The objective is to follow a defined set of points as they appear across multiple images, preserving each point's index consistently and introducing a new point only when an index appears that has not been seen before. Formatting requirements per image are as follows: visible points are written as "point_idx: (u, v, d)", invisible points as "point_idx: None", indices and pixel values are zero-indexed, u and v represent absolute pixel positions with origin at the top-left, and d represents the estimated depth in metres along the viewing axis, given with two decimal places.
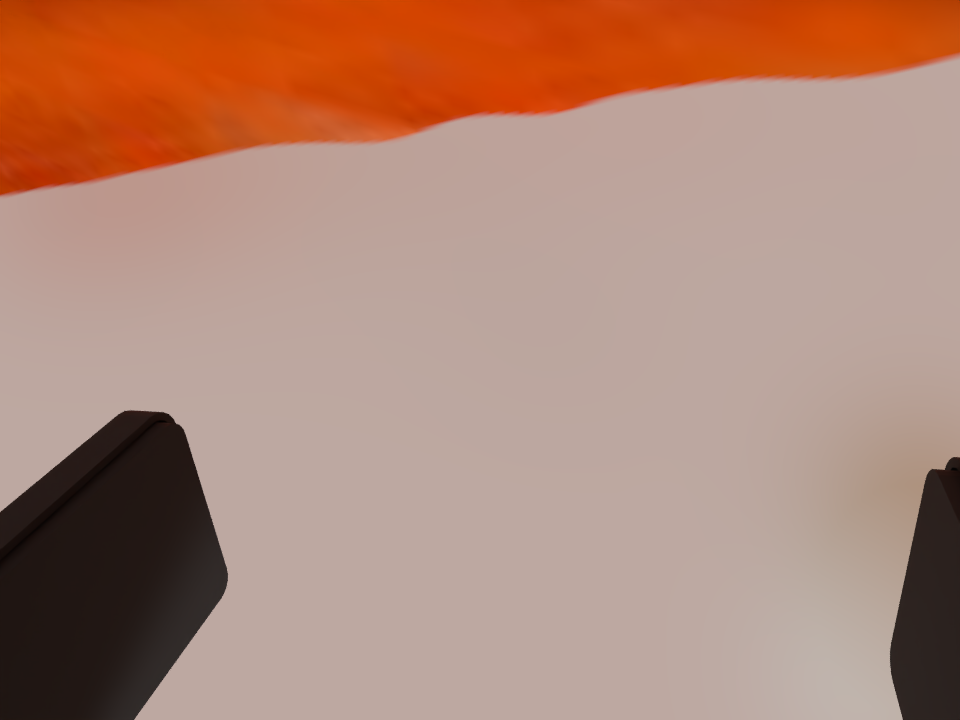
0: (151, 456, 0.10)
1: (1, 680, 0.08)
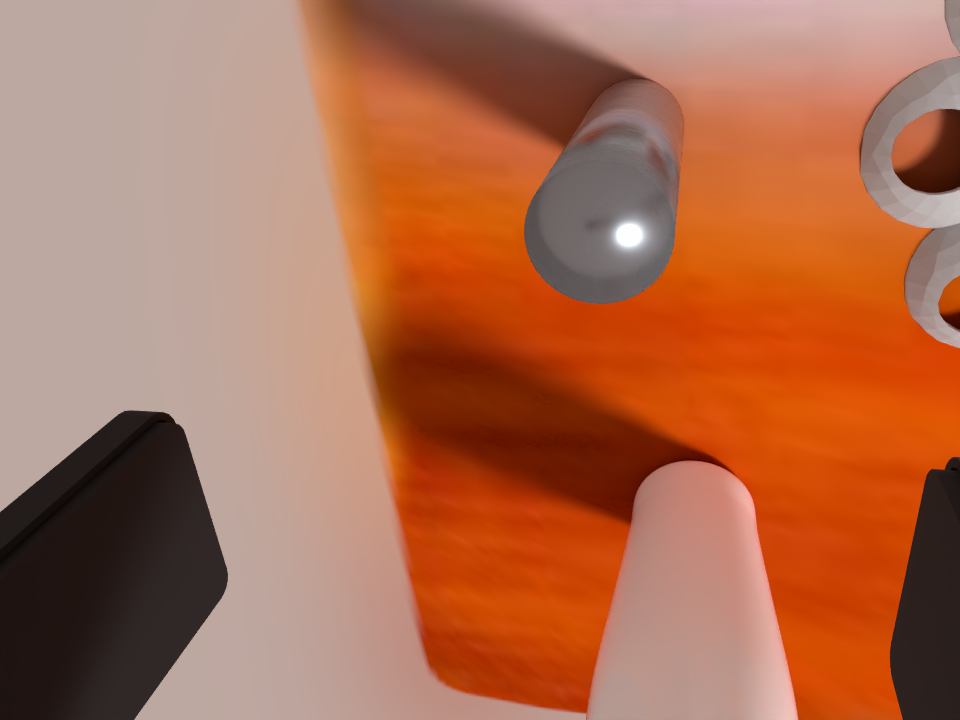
0: (151, 456, 0.10)
1: (1, 680, 0.08)
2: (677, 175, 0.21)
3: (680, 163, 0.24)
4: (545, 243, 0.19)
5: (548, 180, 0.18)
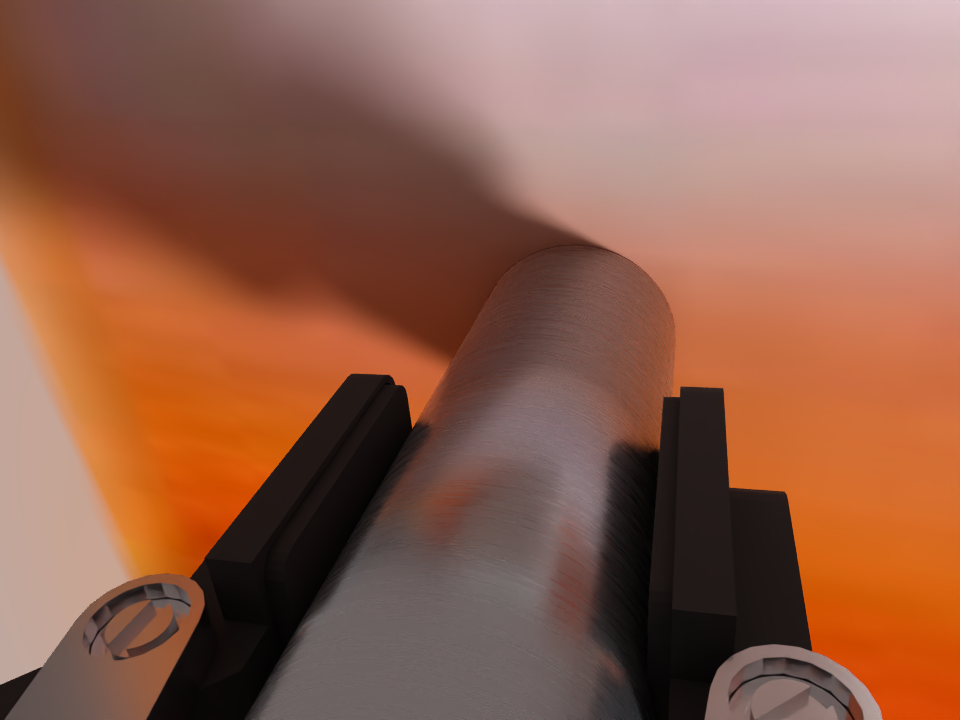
0: (389, 415, 0.10)
1: None
2: None
3: None
4: None
5: None
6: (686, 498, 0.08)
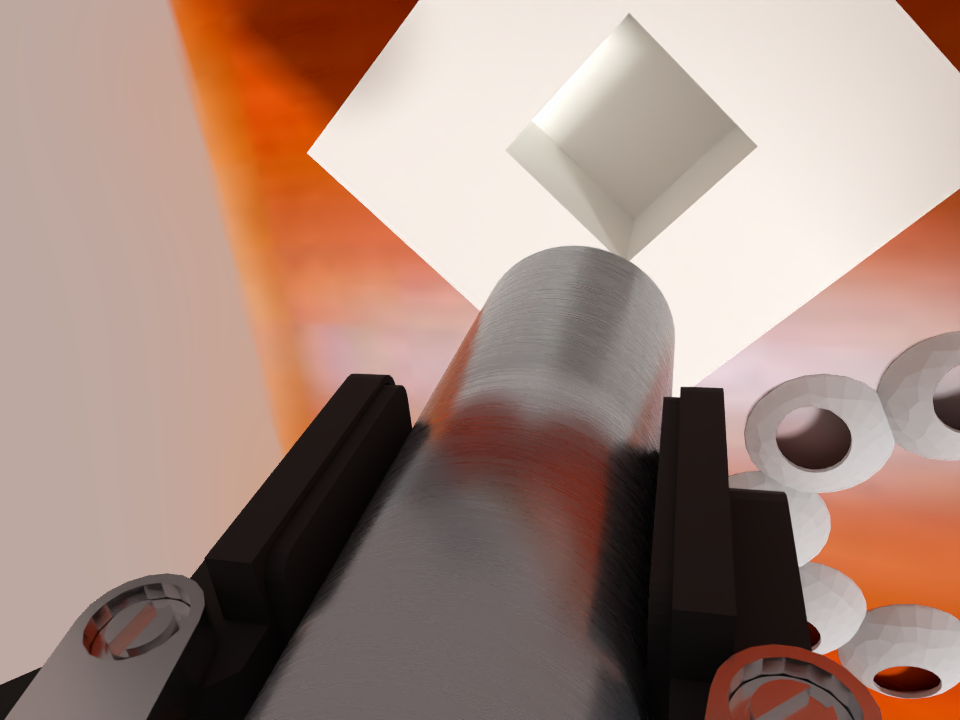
0: (389, 416, 0.10)
1: None
2: None
3: None
4: None
5: None
6: (686, 498, 0.08)
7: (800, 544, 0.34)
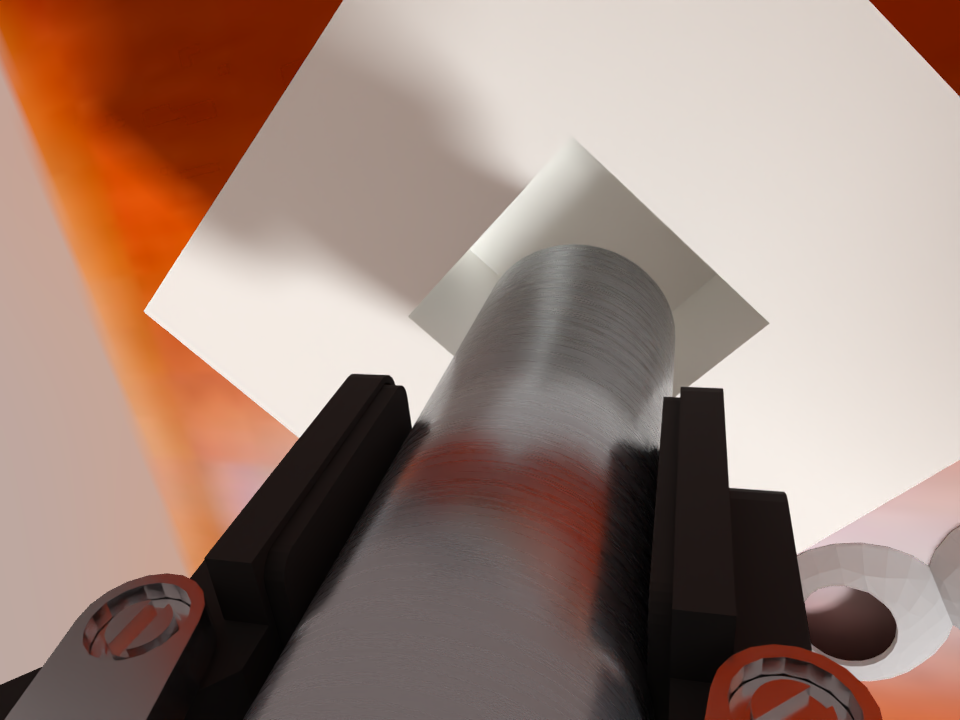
0: (389, 415, 0.10)
1: None
2: None
3: None
4: None
5: None
6: (686, 498, 0.08)
7: None
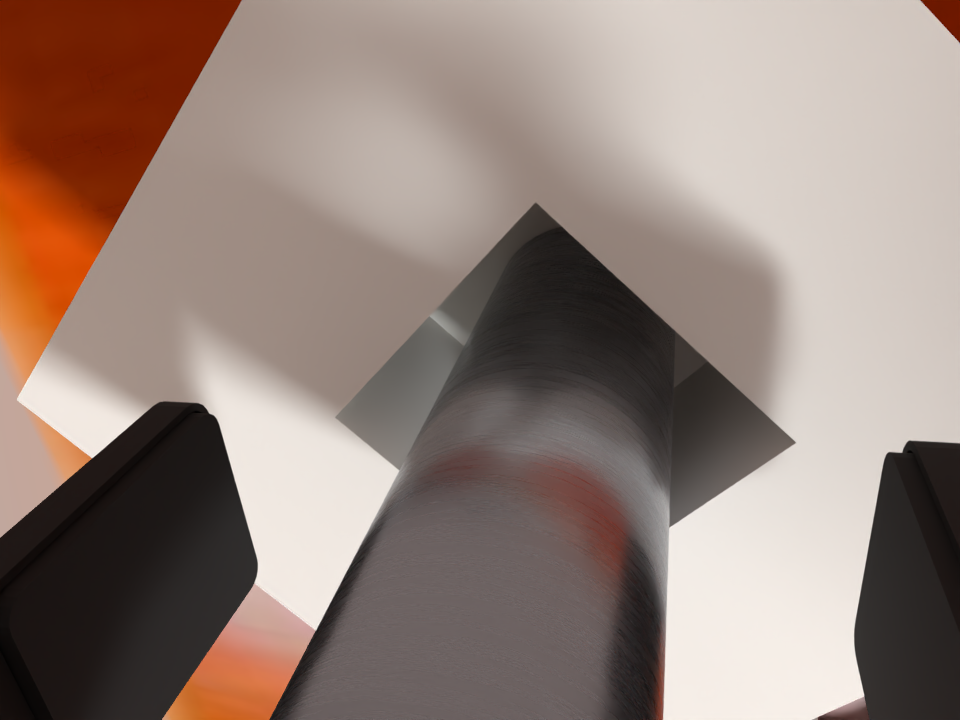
0: (188, 446, 0.10)
1: (50, 663, 0.08)
2: (662, 608, 0.08)
3: (669, 489, 0.10)
4: None
5: None
6: None
7: None
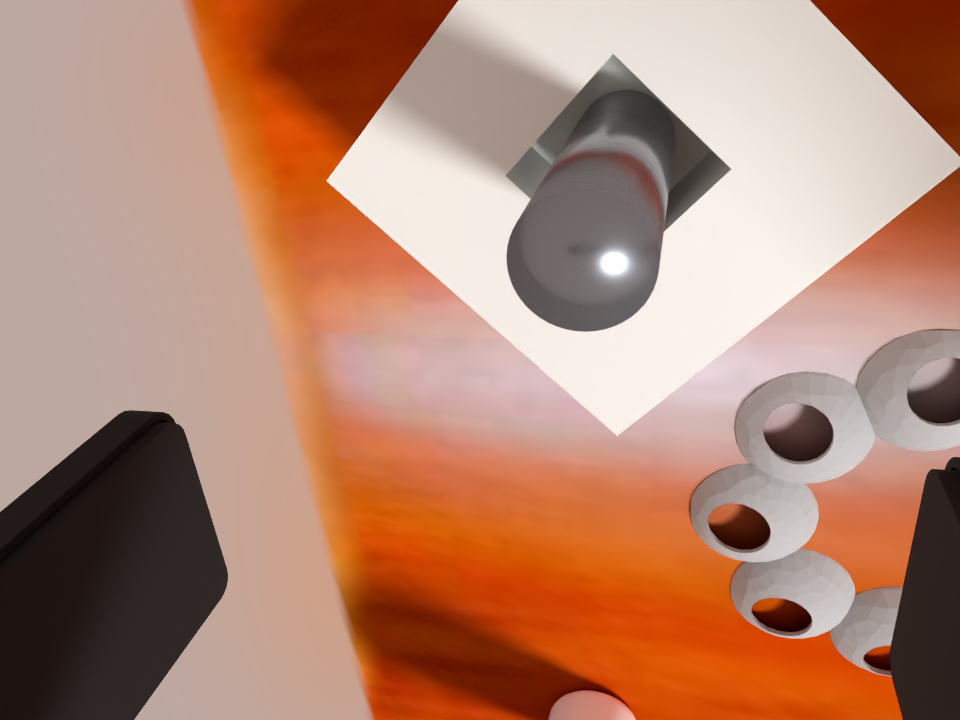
0: (151, 456, 0.10)
1: (1, 680, 0.08)
2: (664, 194, 0.21)
3: (669, 179, 0.23)
4: (528, 272, 0.19)
5: (528, 209, 0.18)
6: None
7: (789, 531, 0.36)
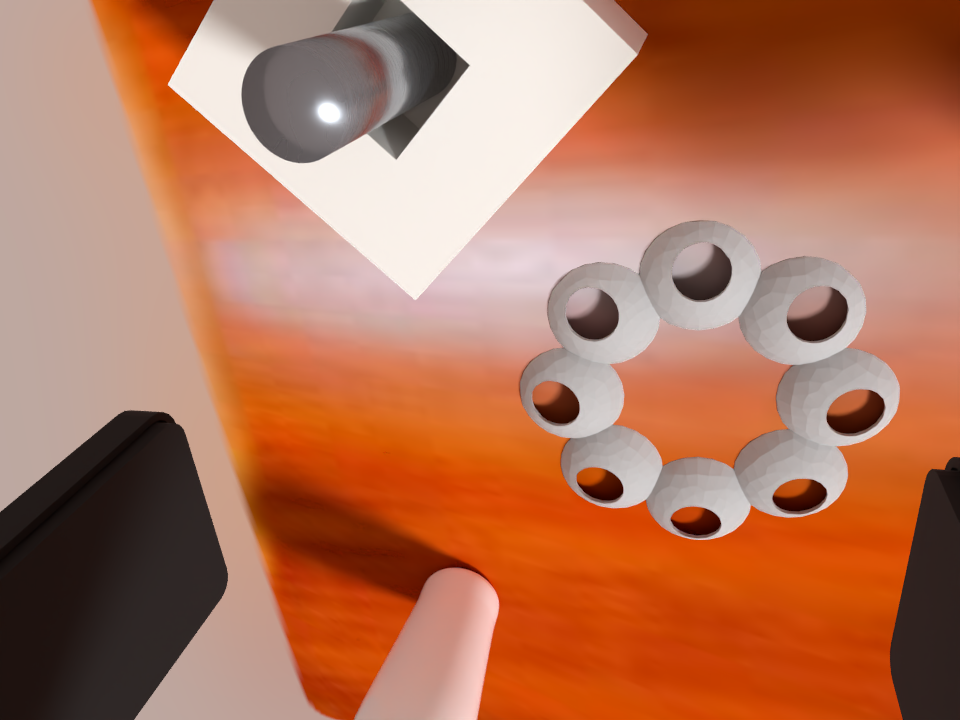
0: (151, 456, 0.10)
1: (1, 680, 0.08)
2: (386, 69, 0.27)
3: (411, 67, 0.29)
4: (259, 116, 0.25)
5: (250, 65, 0.24)
6: None
7: (596, 405, 0.43)
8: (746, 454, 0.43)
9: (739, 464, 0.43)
